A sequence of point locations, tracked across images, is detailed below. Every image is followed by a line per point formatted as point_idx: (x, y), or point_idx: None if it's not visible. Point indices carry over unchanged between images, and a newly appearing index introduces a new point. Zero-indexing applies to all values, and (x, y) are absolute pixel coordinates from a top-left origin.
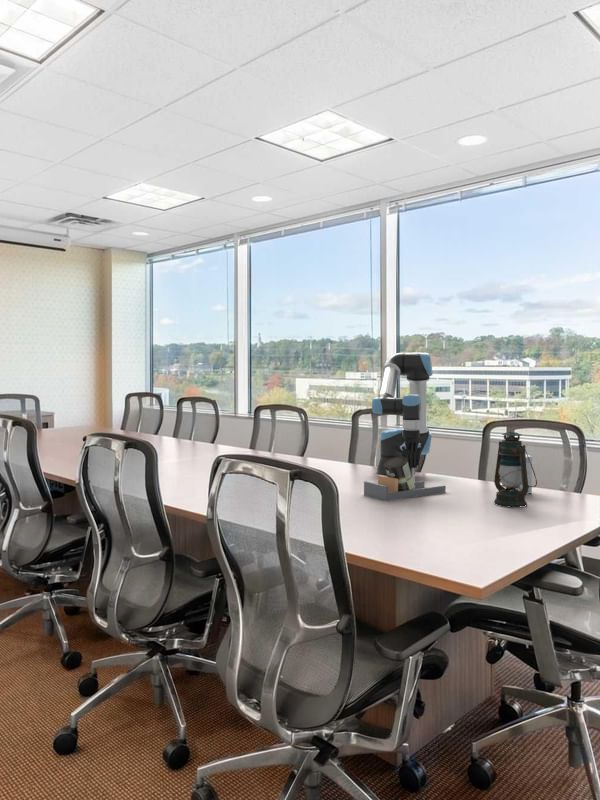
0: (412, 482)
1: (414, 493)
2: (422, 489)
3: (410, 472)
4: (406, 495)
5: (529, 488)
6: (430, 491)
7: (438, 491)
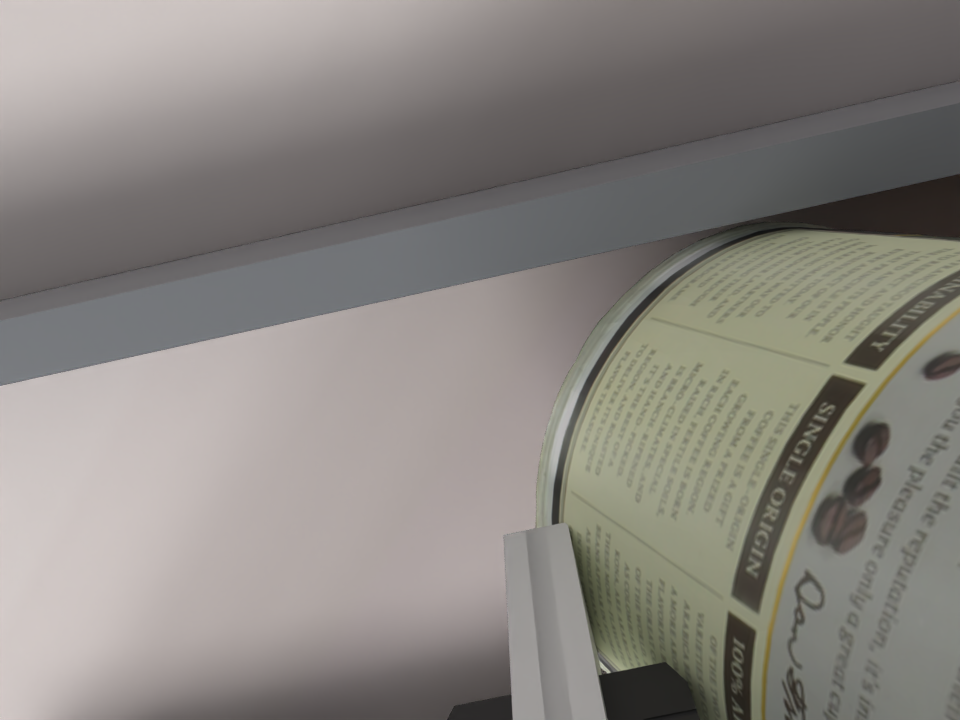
0: (745, 316)
1: (703, 150)
2: (459, 214)
3: (918, 467)
4: (945, 89)
5: None
6: (225, 257)
7: (7, 302)
